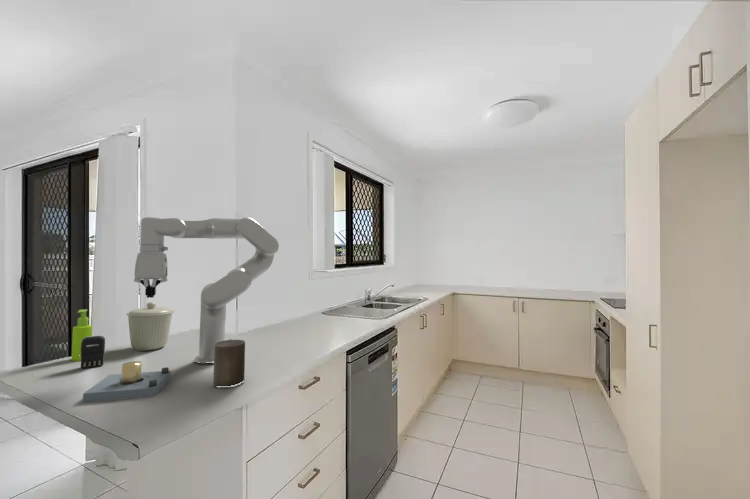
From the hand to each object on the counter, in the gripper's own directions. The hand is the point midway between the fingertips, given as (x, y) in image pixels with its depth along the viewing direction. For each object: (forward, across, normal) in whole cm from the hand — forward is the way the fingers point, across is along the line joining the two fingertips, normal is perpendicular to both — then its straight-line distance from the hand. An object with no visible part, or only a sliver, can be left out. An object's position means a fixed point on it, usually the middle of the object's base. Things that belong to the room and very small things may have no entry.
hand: (150, 297), depth 127 cm
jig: (+26, -1, +23) cm, 35 cm away
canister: (+27, +7, -30) cm, 40 cm away
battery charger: (+27, +19, -5) cm, 33 cm away
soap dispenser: (+26, +28, -18) cm, 42 cm away
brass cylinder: (+27, -1, +23) cm, 35 cm away
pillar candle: (+27, -30, +26) cm, 48 cm away
